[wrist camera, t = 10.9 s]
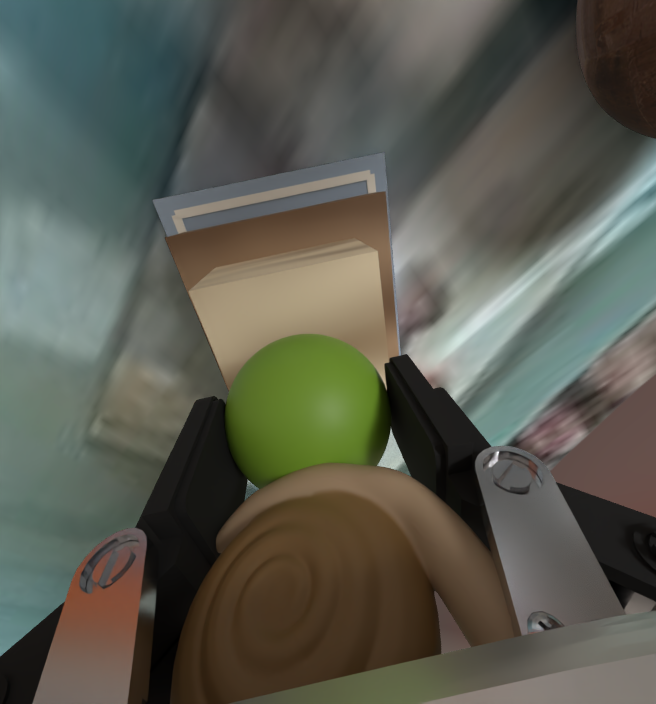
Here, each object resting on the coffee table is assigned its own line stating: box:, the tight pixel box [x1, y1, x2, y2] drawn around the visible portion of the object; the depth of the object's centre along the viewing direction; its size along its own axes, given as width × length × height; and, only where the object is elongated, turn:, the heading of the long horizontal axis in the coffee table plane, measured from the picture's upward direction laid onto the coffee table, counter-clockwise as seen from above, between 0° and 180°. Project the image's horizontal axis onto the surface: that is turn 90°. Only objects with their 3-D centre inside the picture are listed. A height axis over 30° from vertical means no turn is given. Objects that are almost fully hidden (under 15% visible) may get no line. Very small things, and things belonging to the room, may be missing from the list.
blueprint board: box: [152, 152, 401, 356], centre depth 22 cm, size 16×14×1 cm
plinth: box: [165, 191, 399, 391], centre depth 18 cm, size 12×12×8 cm
